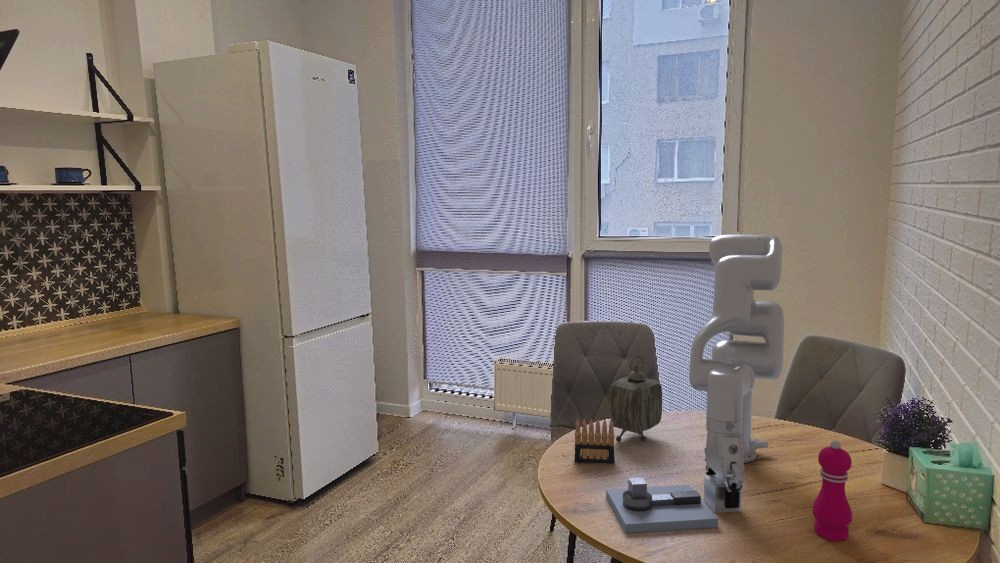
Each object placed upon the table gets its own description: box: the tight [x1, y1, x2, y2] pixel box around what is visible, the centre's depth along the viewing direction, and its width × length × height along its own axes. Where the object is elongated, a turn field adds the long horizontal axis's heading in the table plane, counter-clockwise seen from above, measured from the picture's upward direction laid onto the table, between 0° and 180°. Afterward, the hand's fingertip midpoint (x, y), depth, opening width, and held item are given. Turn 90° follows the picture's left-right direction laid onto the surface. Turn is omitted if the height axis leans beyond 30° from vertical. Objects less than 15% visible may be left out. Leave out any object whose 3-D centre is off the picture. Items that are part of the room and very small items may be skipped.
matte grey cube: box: [703, 474, 743, 514], centre depth 139 cm, size 6×6×6 cm
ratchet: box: [623, 477, 702, 512], centre depth 137 cm, size 17×6×6 cm, turn 95°
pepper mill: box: [811, 439, 853, 542], centre depth 126 cm, size 7×7×20 cm
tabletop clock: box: [609, 354, 663, 442], centre depth 178 cm, size 14×9×25 cm, turn 135°
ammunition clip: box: [573, 417, 616, 465], centre depth 164 cm, size 11×2×12 cm, turn 81°
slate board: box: [605, 484, 719, 534], centre depth 137 cm, size 20×16×2 cm
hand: (722, 497), depth 139 cm, fingers open, 9 cm apart
